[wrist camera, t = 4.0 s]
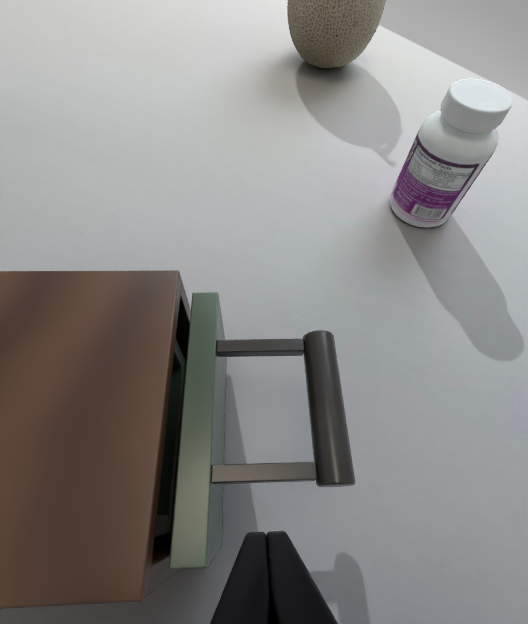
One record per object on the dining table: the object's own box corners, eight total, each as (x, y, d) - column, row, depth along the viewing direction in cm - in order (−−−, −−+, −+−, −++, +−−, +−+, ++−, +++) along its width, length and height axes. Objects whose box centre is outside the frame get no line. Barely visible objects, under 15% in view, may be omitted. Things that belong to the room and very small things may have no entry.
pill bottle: (413, 179, 32) (470, 63, 24) (461, 212, 30) (541, 98, 22) (375, 203, 30) (422, 87, 22) (422, 240, 28) (495, 128, 20)
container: (307, 349, 22) (330, 287, 16) (327, 543, 17) (372, 562, 11) (24, 353, 21) (-68, 290, 15) (-46, 558, 16) (-229, 589, 10)
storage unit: (202, 348, 23) (179, 270, 15) (188, 561, 17) (141, 602, 10) (-9, 351, 22) (-140, 271, 15) (-98, 574, 16) (-386, 628, 9)
